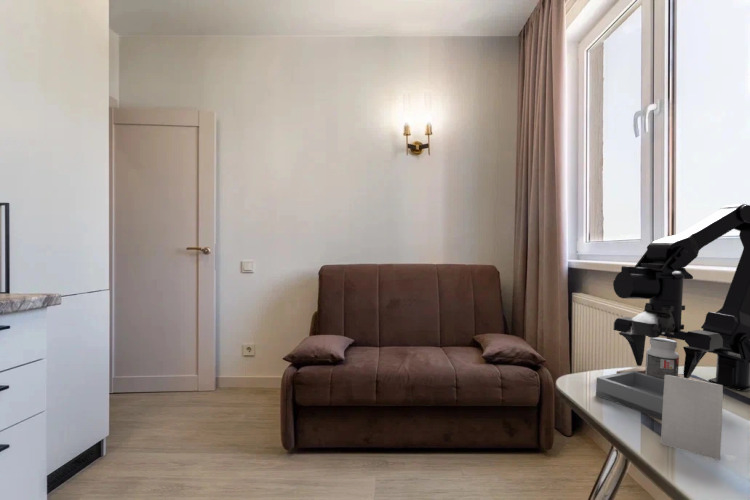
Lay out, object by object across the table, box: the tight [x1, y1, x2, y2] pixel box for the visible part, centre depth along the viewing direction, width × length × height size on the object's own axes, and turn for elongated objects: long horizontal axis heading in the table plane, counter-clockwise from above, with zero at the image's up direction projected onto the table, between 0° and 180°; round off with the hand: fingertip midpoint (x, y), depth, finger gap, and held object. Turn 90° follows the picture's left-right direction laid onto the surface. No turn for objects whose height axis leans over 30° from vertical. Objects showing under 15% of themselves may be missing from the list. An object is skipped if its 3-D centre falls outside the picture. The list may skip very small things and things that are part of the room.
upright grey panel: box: [660, 375, 724, 460], centre depth 60 cm, size 4×7×10 cm, turn 53°
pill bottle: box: [645, 337, 680, 380], centre depth 87 cm, size 6×6×10 cm
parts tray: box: [595, 371, 664, 421], centre depth 77 cm, size 12×12×4 cm
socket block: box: [615, 365, 710, 383], centre depth 87 cm, size 12×12×2 cm
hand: (661, 371), depth 87 cm, fingers open, 9 cm apart
